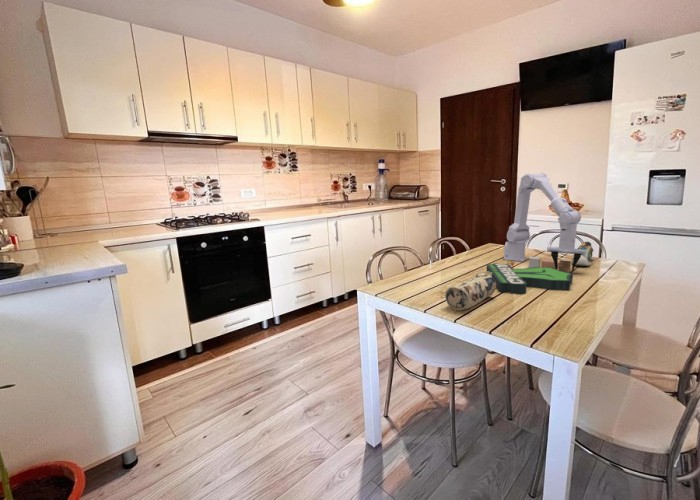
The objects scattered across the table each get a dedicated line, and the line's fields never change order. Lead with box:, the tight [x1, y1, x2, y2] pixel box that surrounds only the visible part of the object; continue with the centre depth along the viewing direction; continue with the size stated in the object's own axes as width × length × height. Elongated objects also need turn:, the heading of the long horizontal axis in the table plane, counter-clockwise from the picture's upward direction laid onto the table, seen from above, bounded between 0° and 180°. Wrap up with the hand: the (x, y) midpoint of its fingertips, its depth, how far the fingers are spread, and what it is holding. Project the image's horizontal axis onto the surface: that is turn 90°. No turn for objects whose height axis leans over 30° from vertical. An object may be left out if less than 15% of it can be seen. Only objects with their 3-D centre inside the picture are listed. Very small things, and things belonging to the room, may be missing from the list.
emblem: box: [486, 263, 574, 295], centre depth 138 cm, size 30×4×30 cm
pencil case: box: [444, 270, 497, 311], centre depth 117 cm, size 22×8×10 cm, turn 132°
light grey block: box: [528, 256, 541, 268], centre depth 157 cm, size 4×4×5 cm
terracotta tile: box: [540, 257, 562, 269], centre depth 160 cm, size 7×7×3 cm
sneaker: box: [570, 241, 594, 267], centre depth 162 cm, size 8×21×10 cm, turn 140°
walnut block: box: [558, 259, 572, 273], centre depth 148 cm, size 4×4×5 cm
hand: (564, 269), depth 148 cm, fingers open, 6 cm apart
